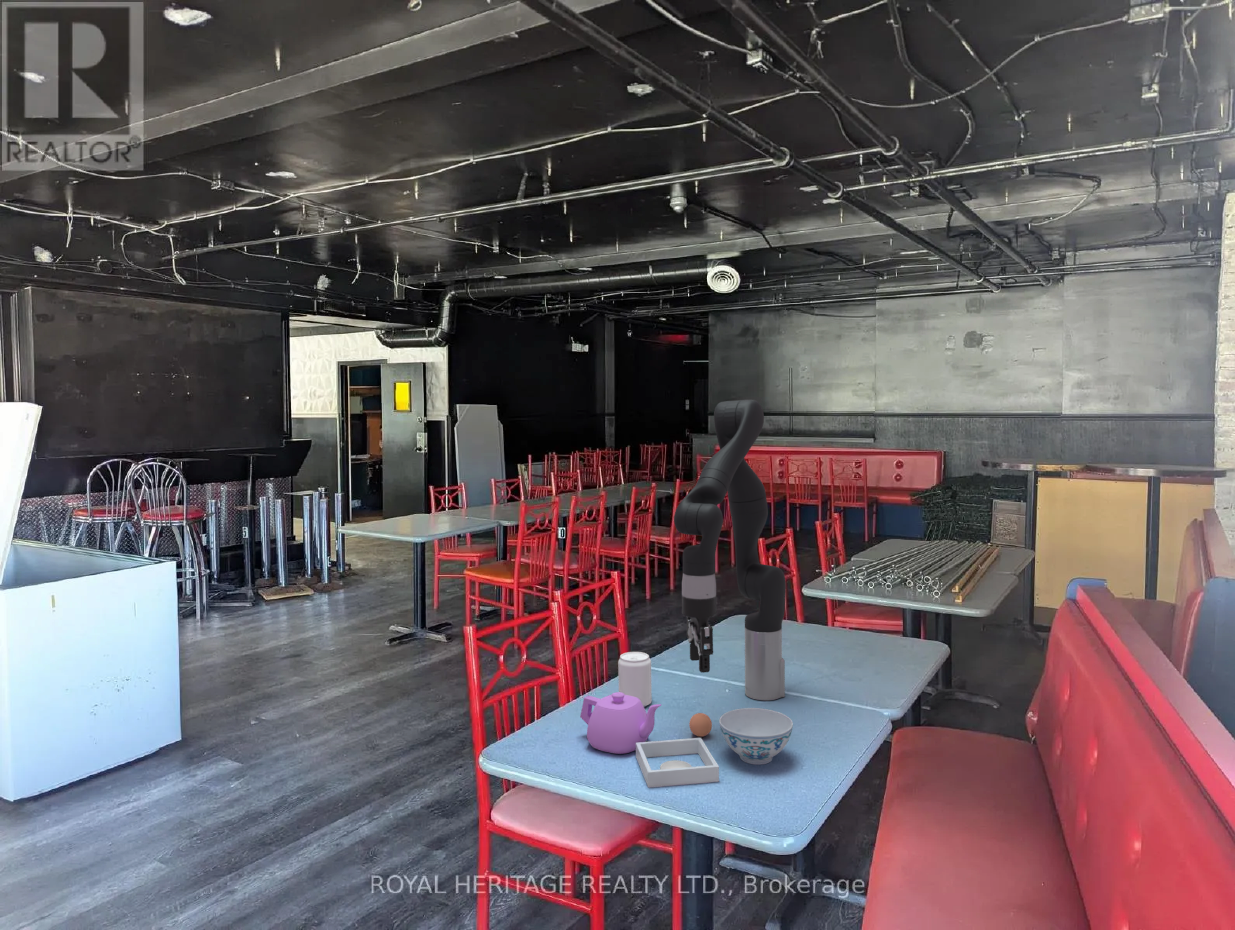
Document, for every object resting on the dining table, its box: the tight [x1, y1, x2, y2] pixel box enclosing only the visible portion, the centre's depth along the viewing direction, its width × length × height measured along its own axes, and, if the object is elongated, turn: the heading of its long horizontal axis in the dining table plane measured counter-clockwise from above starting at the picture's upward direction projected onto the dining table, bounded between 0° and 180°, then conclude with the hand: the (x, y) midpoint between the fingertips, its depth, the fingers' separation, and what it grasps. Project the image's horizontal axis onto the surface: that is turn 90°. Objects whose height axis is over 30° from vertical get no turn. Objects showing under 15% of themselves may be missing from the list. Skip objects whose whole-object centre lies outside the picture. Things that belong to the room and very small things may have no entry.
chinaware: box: [718, 707, 794, 765], centre depth 165 cm, size 15×15×8 cm
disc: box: [659, 759, 693, 770], centre depth 161 cm, size 6×6×1 cm
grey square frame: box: [635, 737, 720, 788], centre depth 161 cm, size 14×14×3 cm
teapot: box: [580, 691, 662, 755], centre depth 173 cm, size 13×20×11 cm, turn 60°
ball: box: [688, 712, 713, 738], centre depth 177 cm, size 5×5×5 cm
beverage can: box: [617, 651, 652, 708], centre depth 197 cm, size 8×8×12 cm
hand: (699, 665), depth 176 cm, fingers open, 8 cm apart
